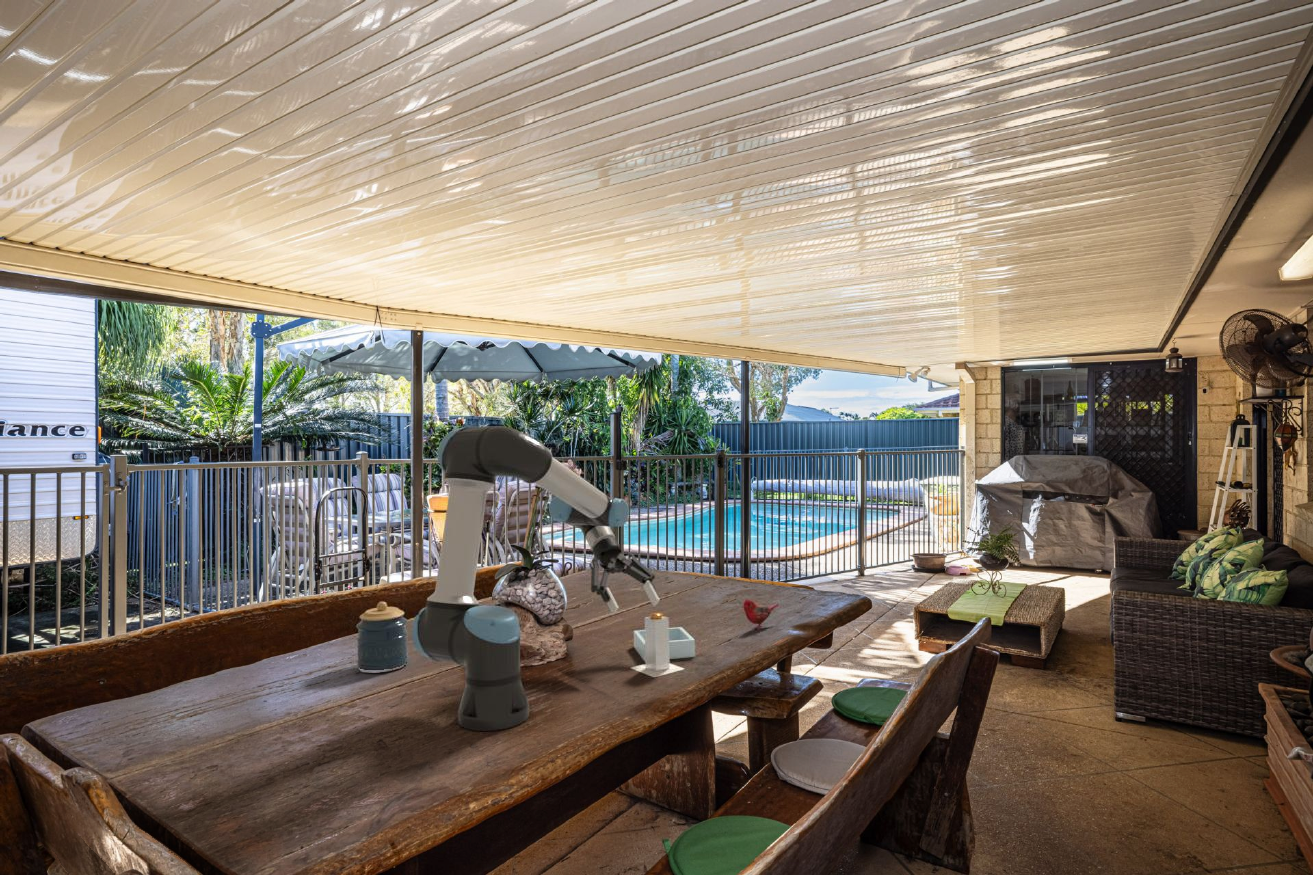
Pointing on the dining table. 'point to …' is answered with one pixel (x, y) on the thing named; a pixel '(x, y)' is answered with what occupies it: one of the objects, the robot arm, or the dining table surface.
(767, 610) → the decorative bird figurine
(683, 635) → the bin
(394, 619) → the canister
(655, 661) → the strut
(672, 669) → the stud base
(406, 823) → the dining table surface
